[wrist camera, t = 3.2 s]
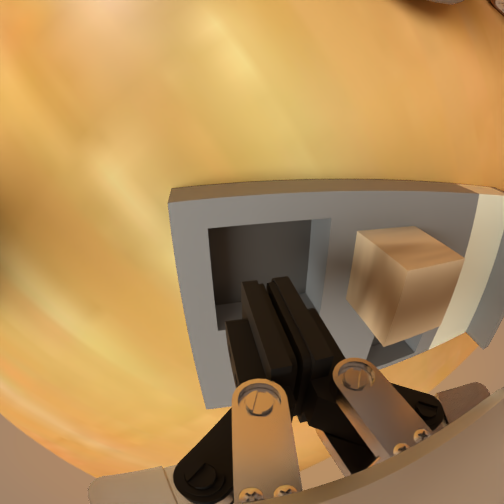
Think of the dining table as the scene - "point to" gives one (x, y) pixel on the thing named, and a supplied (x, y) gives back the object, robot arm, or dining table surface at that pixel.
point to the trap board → (326, 258)
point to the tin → (498, 5)
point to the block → (401, 281)
